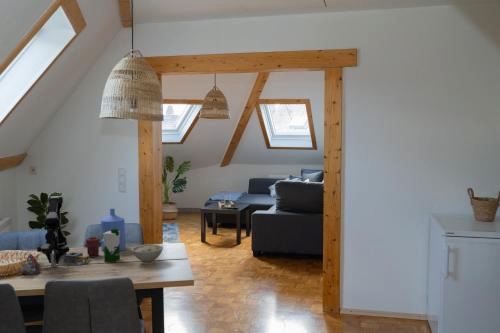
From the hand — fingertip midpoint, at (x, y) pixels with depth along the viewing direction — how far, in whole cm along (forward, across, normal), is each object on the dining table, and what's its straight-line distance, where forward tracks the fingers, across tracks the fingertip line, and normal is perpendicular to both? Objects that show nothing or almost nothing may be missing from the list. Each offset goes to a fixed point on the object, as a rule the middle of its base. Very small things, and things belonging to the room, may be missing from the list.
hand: (53, 263), depth 291 cm
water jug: (+2, +13, +46) cm, 47 cm away
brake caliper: (+2, -4, -14) cm, 15 cm away
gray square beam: (+2, 0, 0) cm, 2 cm away
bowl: (+2, +51, +21) cm, 55 cm away
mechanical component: (+2, +9, +28) cm, 29 cm away
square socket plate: (+2, +5, +12) cm, 13 cm away
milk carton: (+2, +27, +20) cm, 34 cm away
